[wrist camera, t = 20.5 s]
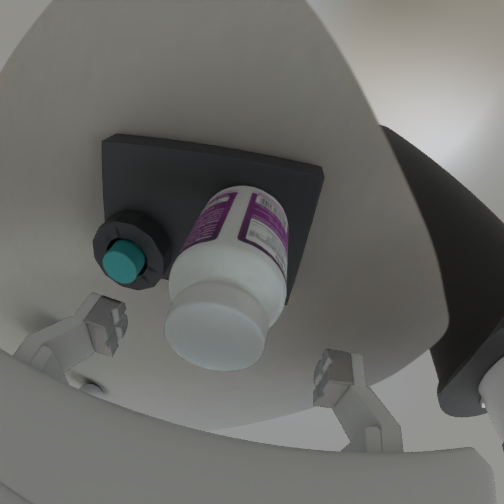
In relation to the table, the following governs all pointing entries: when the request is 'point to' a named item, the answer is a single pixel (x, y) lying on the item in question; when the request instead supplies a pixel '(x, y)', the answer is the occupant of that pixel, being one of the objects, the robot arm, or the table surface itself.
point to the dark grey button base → (191, 197)
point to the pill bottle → (229, 280)
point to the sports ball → (92, 390)
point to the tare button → (124, 261)
